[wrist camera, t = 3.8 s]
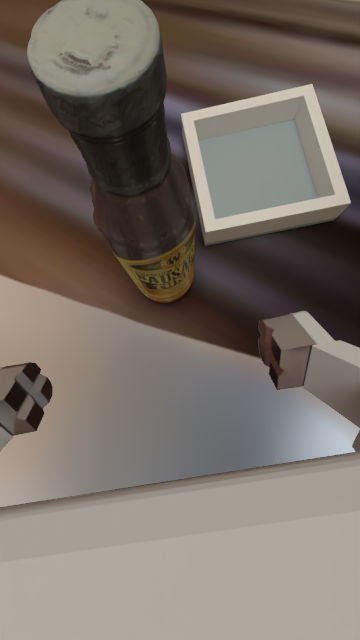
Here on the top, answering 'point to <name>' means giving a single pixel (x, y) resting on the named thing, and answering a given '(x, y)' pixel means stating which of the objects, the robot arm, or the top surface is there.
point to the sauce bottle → (120, 133)
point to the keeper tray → (262, 166)
